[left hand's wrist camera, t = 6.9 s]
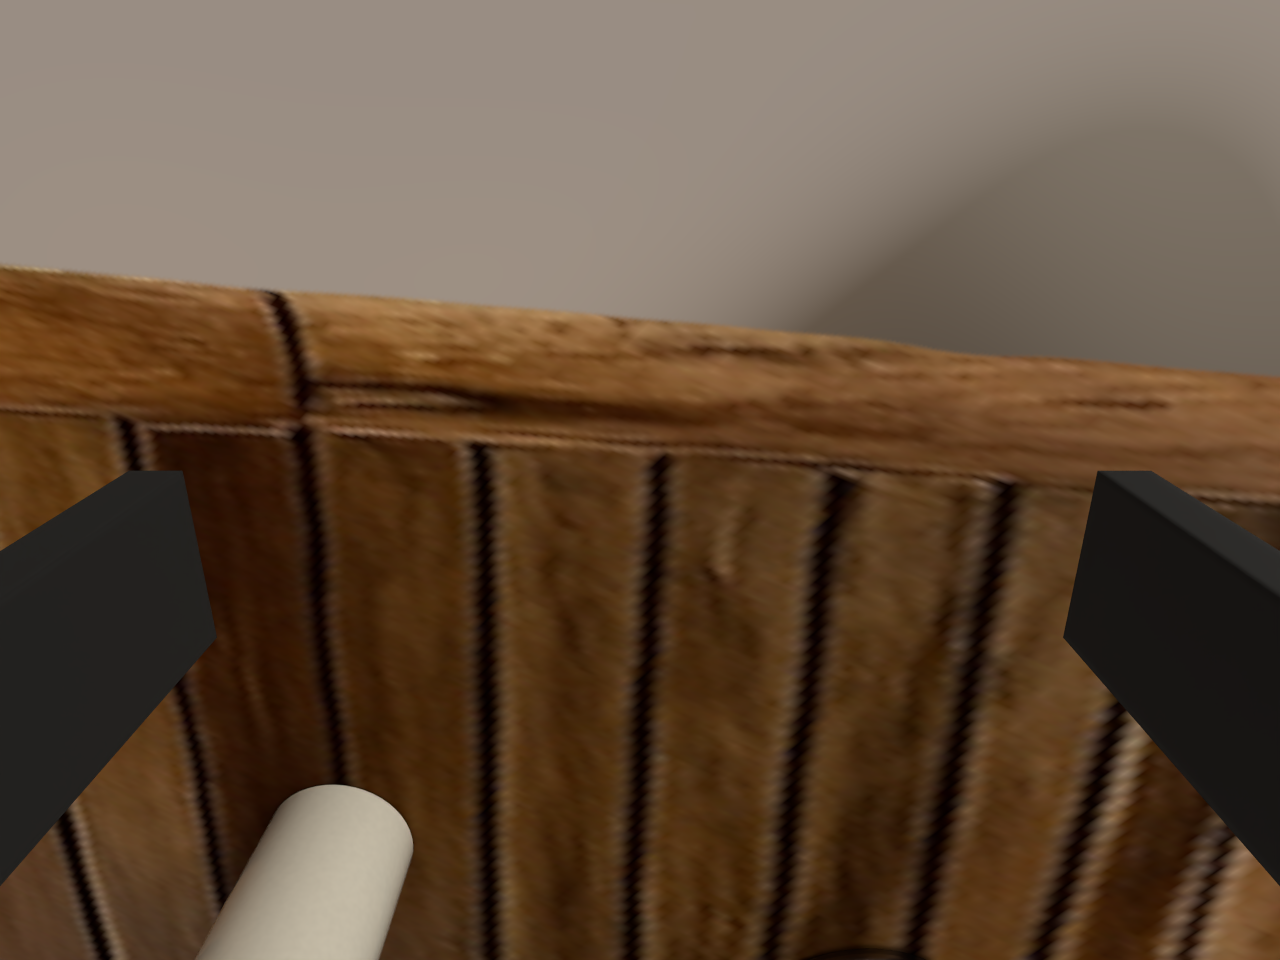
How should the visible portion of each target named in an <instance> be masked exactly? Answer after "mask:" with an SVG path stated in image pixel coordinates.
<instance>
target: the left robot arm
mask: <svg viewBox="0 0 1280 960" xmlns="http://www.w3.org/2000/svg"><path fill="white" fill-rule="evenodd" d="M216 638H217V636H216V631H215V627H214V622H213V617H212V612H211V607H210V602H209V597H208V593H207V588H206V583H205V578H204V573H203V568H202V564H201V559H200V554H199V549H198V544H197V539H196V535H195V530H194V525H193V520H192V515H191V510H190V506H189V501H188V496H187V491H186V486H185V481H184V477H183V472H182V471H128V472H126V473H125V474H123V475H122V476H120V477H118V478H117V479H115V480H114V481H112V482H110V483H109V484H107V485H106V486H104V487H102V488H101V489H99V490H98V491H96V492H94V493H93V494H91V495H90V496H88V497H86V498H85V499H83V500H82V501H80V502H78V503H77V504H75V505H73V506H72V507H70V508H69V509H67V510H65V511H64V512H62V513H61V514H59V515H57V516H56V517H54V518H53V519H51V520H49V521H48V522H46V523H45V524H43V525H41V526H40V527H38V528H37V529H35V530H33V531H32V532H30V533H29V534H27V535H25V536H24V537H22V538H21V539H19V540H17V541H16V542H14V543H13V544H11V545H9V546H8V547H6V548H5V549H3V550H1V551H0V886H1V884H2V883H3V882H4V881H5V880H6V879H7V878H8V876H9V875H10V874H11V873H12V872H13V871H14V870H15V868H16V867H17V866H18V865H19V864H20V863H21V862H22V860H23V859H24V858H25V857H26V856H27V855H28V854H29V852H30V851H31V850H32V849H33V848H34V847H35V845H36V844H37V843H38V842H39V841H40V840H41V839H42V837H43V836H44V835H45V834H46V833H47V832H48V831H49V829H50V828H51V827H52V826H53V825H54V824H55V823H56V821H57V820H58V819H59V818H60V817H61V816H62V814H63V813H64V812H65V811H66V810H67V809H68V808H69V806H70V805H71V804H72V803H73V802H74V801H75V800H76V798H77V797H78V796H79V795H80V794H81V793H82V792H83V790H84V789H85V788H86V787H87V786H88V785H89V784H90V782H91V781H92V780H93V779H94V778H95V777H96V775H97V774H98V773H99V772H100V771H101V770H102V769H103V767H104V766H105V765H106V764H107V763H108V762H109V761H110V759H111V758H112V757H113V756H114V755H115V754H116V753H117V751H118V750H119V749H120V748H121V747H122V746H123V745H124V743H125V742H126V741H127V740H128V739H129V738H130V736H131V735H132V734H133V733H134V732H135V731H136V730H137V728H138V727H139V726H140V725H141V724H142V723H143V722H144V720H145V719H146V718H147V717H148V716H149V715H150V714H151V712H152V711H153V710H154V709H155V708H156V707H157V705H158V704H159V703H160V702H161V701H162V700H163V699H164V697H165V696H166V695H167V694H168V693H169V692H170V691H171V689H172V688H173V687H174V686H175V685H176V684H177V683H178V681H179V680H180V679H181V678H182V677H183V676H184V675H185V673H186V672H187V671H188V670H189V669H190V668H191V666H192V665H193V664H194V663H195V662H196V661H197V660H198V658H199V657H200V656H201V655H202V654H203V653H204V652H205V650H206V649H207V648H208V647H209V646H210V645H211V644H212V642H213V641H214V640H215V639H216ZM1063 638H1064V639H1065V640H1066V641H1067V642H1068V644H1069V645H1070V646H1071V647H1072V648H1073V649H1074V650H1075V652H1076V653H1077V654H1078V655H1079V656H1080V657H1081V658H1082V660H1083V661H1084V662H1085V663H1086V664H1087V665H1088V666H1089V668H1090V669H1091V670H1092V671H1093V672H1094V673H1095V675H1096V676H1097V677H1098V678H1099V679H1100V680H1101V681H1102V683H1103V684H1104V685H1105V686H1106V687H1107V688H1108V689H1109V691H1110V692H1111V693H1112V694H1113V695H1114V696H1115V697H1116V699H1117V700H1118V701H1119V702H1120V703H1121V704H1122V705H1123V707H1124V708H1125V709H1126V710H1127V711H1128V712H1129V714H1130V715H1131V716H1132V717H1133V718H1134V719H1135V720H1136V722H1137V723H1138V724H1139V725H1140V726H1141V727H1142V728H1143V730H1144V731H1145V732H1146V733H1147V734H1148V735H1149V736H1150V738H1151V739H1152V740H1153V741H1154V742H1155V743H1156V745H1157V746H1158V747H1159V748H1160V749H1161V750H1162V751H1163V753H1164V754H1165V755H1166V756H1167V757H1168V758H1169V759H1170V761H1171V762H1172V763H1173V764H1174V765H1175V766H1176V767H1177V769H1178V770H1179V771H1180V772H1181V773H1182V774H1183V775H1184V777H1185V778H1186V779H1187V780H1188V781H1189V782H1190V784H1191V785H1192V786H1193V787H1194V788H1195V789H1196V790H1197V792H1198V793H1199V794H1200V795H1201V796H1202V797H1203V798H1204V800H1205V801H1206V802H1207V803H1208V804H1209V805H1210V806H1211V808H1212V809H1213V810H1214V811H1215V812H1216V813H1217V814H1218V816H1219V817H1220V818H1221V819H1222V820H1223V821H1224V823H1225V824H1226V825H1227V826H1228V827H1229V828H1230V829H1231V831H1232V832H1233V833H1234V834H1235V835H1236V836H1237V837H1238V839H1239V840H1240V841H1241V842H1242V843H1243V844H1244V845H1245V847H1246V848H1247V849H1248V850H1249V851H1250V852H1251V854H1252V855H1253V856H1254V857H1255V858H1256V859H1257V860H1258V862H1259V863H1260V864H1261V865H1262V866H1263V867H1264V868H1265V870H1266V871H1267V872H1268V873H1269V874H1270V875H1271V876H1272V878H1273V879H1274V880H1275V881H1276V882H1277V883H1278V884H1279V886H1280V551H1279V550H1277V549H1275V548H1274V547H1272V546H1271V545H1269V544H1267V543H1266V542H1264V541H1263V540H1261V539H1259V538H1258V537H1256V536H1255V535H1253V534H1251V533H1250V532H1248V531H1247V530H1245V529H1243V528H1242V527H1240V526H1239V525H1237V524H1235V523H1234V522H1232V521H1231V520H1229V519H1227V518H1226V517H1224V516H1223V515H1221V514H1219V513H1218V512H1216V511H1215V510H1213V509H1211V508H1210V507H1208V506H1207V505H1205V504H1203V503H1202V502H1200V501H1198V500H1197V499H1195V498H1194V497H1192V496H1190V495H1189V494H1187V493H1186V492H1184V491H1182V490H1181V489H1179V488H1178V487H1176V486H1174V485H1173V484H1171V483H1170V482H1168V481H1166V480H1165V479H1163V478H1162V477H1160V476H1158V475H1157V474H1155V473H1154V472H1152V471H1098V472H1097V477H1096V481H1095V486H1094V491H1093V496H1092V501H1091V506H1090V510H1089V515H1088V520H1087V525H1086V530H1085V535H1084V539H1083V544H1082V549H1081V554H1080V559H1079V564H1078V568H1077V573H1076V578H1075V583H1074V588H1073V593H1072V597H1071V602H1070V607H1069V612H1068V617H1067V622H1066V627H1065V631H1064V636H1063ZM809 960H925V959H923V958H920V957H917V956H915V955H911V954H907V953H904V952H898V951H893V950H884V949H852V950H844V951H838V952H833V953H829V954H825V955H821V956H818V957H815V958H812V959H809Z"/></svg>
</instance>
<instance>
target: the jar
mask: <svg viewBox="0 0 1280 960" xmlns="http://www.w3.org/2000/svg"><path fill="white" fill-rule="evenodd" d="M412 854H413V841H412V836H411V833H410V829H409V827H408V825H407V823H406V822H405V820H404V819H403V817H402V816H401V815H400V814H399V812H398V811H397V810H396V809H395V808H394V807H393V806H391V805H390V804H389V803H388V802H386V801H385V800H383V799H382V798H380V797H378V796H376V795H375V794H373V793H370V792H368V791H365V790H362V789H359V788H356V787H351V786H346V785H321V786H315V787H311V788H307V789H304V790H302V791H299V792H297V793H296V794H294V795H292V796H291V797H289V798H288V799H286V800H285V801H284V802H283V803H282V804H281V805H280V806H279V807H278V809H277V810H276V812H275V813H274V815H273V817H272V819H271V821H270V822H269V824H268V826H267V828H266V830H265V831H264V833H263V835H262V837H261V839H260V841H259V842H258V844H257V846H256V848H255V850H254V851H253V853H252V855H251V857H250V859H249V861H248V862H247V864H246V866H245V868H244V870H243V871H242V873H241V875H240V877H239V879H238V881H237V882H236V884H235V886H234V888H233V890H232V891H231V893H230V895H229V897H228V899H227V901H226V902H225V904H224V906H223V908H222V910H221V911H220V913H219V915H218V917H217V919H216V921H215V922H214V924H213V926H212V928H211V930H210V931H209V933H208V935H207V937H206V939H205V941H204V942H203V944H202V946H201V948H200V950H199V951H198V953H197V955H196V957H195V959H194V960H379V959H380V956H381V953H382V949H383V946H384V943H385V940H386V937H387V934H388V931H389V928H390V925H391V921H392V918H393V915H394V912H395V909H396V906H397V903H398V900H399V897H400V893H401V890H402V887H403V884H404V881H405V878H406V875H407V872H408V869H409V865H410V862H411V859H412Z"/></svg>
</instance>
